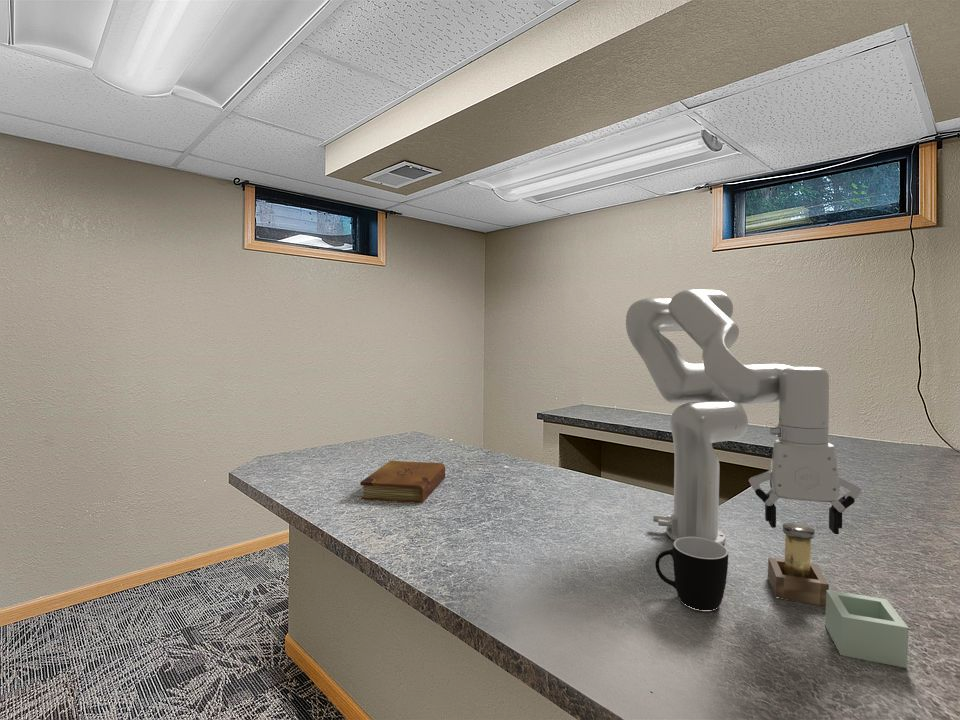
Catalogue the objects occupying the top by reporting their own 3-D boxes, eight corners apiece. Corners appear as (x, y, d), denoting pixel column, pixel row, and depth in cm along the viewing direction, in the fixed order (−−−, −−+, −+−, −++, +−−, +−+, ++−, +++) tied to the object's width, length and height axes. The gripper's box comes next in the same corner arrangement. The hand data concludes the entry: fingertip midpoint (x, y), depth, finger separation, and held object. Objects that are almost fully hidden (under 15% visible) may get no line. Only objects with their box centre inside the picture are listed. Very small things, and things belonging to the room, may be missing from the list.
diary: (423, 506, 140) (422, 485, 139) (360, 501, 143) (360, 482, 143) (445, 480, 162) (445, 462, 162) (391, 477, 166) (390, 460, 165)
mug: (727, 596, 91) (729, 542, 90) (725, 622, 83) (727, 563, 82) (658, 580, 97) (659, 529, 96) (650, 603, 89) (651, 548, 88)
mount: (775, 597, 90) (776, 576, 90) (767, 577, 98) (768, 557, 97) (827, 606, 87) (828, 584, 87) (815, 584, 95) (816, 563, 95)
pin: (783, 595, 91) (785, 531, 90) (778, 582, 96) (780, 521, 95) (815, 600, 89) (818, 535, 89) (808, 586, 94) (810, 524, 93)
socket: (840, 655, 75) (841, 616, 74) (825, 625, 82) (826, 589, 82) (906, 668, 72) (908, 627, 71) (884, 635, 79) (886, 599, 79)
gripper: (752, 436, 90) (751, 530, 91) (868, 442, 84) (867, 542, 84) (746, 429, 97) (746, 516, 98) (853, 433, 91) (852, 526, 91)
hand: (802, 528), depth 91 cm, fingers open, 9 cm apart
